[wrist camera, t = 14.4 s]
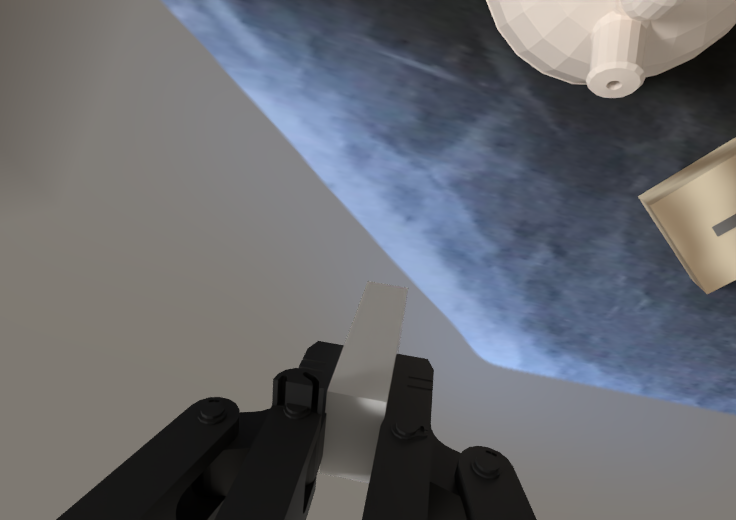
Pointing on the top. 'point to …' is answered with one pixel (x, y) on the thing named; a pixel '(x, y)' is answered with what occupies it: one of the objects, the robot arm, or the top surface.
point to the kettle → (610, 37)
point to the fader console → (700, 216)
